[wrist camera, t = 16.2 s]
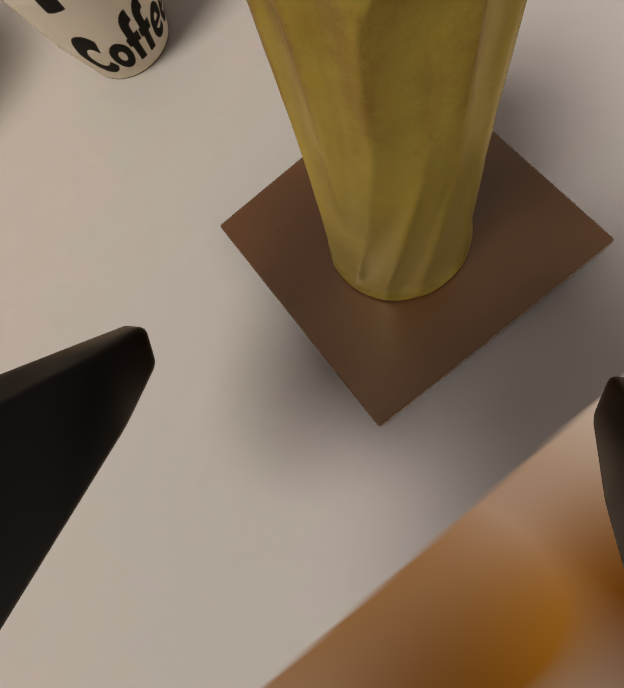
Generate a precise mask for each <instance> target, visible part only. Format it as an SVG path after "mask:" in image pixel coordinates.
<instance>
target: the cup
mask: <svg viewBox="0 0 624 688" xmlns="http://www.w3.org/2000/svg"><path fill="white" fill-rule="evenodd" d="M3 1H4V2H5V3H6V4H8V5H9V6H10V7H11V8H12V9H14V10H15V11H16V12H17V13H18V14H20V15H21V16H22V17H23V18H24V19H26V20H27V21H28V22H29V23H31V24H32V25H33V26H34V27H35V28H37V29H38V30H39V31H40V32H41V33H43V34H44V35H45V36H46V37H47V38H49V39H50V40H51V41H52V42H53V43H55V44H56V45H57V46H58V47H60V48H61V49H62V50H64V51H66V52H67V53H69V54H70V55H72V56H74V57H75V58H77V59H78V60H80V61H81V62H83V63H85V64H86V65H88V66H89V67H91V68H93V69H94V70H96V71H97V72H99V73H100V74H102V75H104V76H106V77H109V78H115V79H121V78H127V77H131V76H134V75H136V74H138V73H140V72H142V71H144V70H145V69H147V68H148V67H149V66H150V65H151V64H153V63H154V62H155V60H156V59H157V58H158V57H159V55H160V54H161V52H162V51H163V49H164V47H165V44H166V42H167V38H168V23H167V19H166V15H165V11H164V6H163V2H162V0H3Z"/></svg>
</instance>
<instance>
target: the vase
mask: <svg viewBox="0 0 624 688" xmlns="http://www.w3.org/2000/svg"><path fill="white" fill-rule="evenodd" d="M526 2H527V0H247V3H248V5H249V8H250V11H251V14H252V17H253V19H254V22H255V25H256V28H257V31H258V34H259V36H260V39H261V42H262V45H263V48H264V50H265V53H266V56H267V58H268V61H269V64H270V66H271V69H272V72H273V74H274V77H275V80H276V83H277V85H278V88H279V91H280V94H281V97H282V100H283V102H284V105H285V107H286V110H287V113H288V116H289V118H290V121H291V124H292V127H293V130H294V133H295V136H296V139H297V142H298V145H299V148H300V151H301V154H302V157H303V160H304V163H305V166H306V169H307V172H308V175H309V178H310V182H311V185H312V188H313V191H314V195H315V198H316V201H317V204H318V207H319V210H320V214H321V217H322V221H323V224H324V228H325V231H326V235H327V238H328V244H329V248H330V252H331V257H332V260H333V264H334V266H335V268H336V269H337V271H338V272H339V273H340V274H341V276H342V277H343V278H344V279H345V280H346V281H347V282H348V283H349V284H350V285H351V286H352V287H354V288H355V289H357V290H358V291H360V292H362V293H364V294H366V295H368V296H371V297H374V298H377V299H381V300H389V301H398V300H407V299H412V298H416V297H420V296H424V295H426V294H429V293H431V292H433V291H435V290H437V289H438V288H440V287H441V286H443V285H444V284H445V283H446V282H448V281H449V280H450V279H451V278H452V277H453V276H454V275H455V274H456V273H457V272H458V270H459V269H460V268H461V266H462V265H463V263H464V261H465V259H466V257H467V255H468V252H469V249H470V245H471V240H472V233H473V224H472V218H473V213H474V209H475V204H476V201H477V196H478V192H479V187H480V183H481V179H482V174H483V169H484V164H485V158H486V154H487V150H488V146H489V142H490V139H491V135H492V131H493V127H494V122H495V117H496V112H497V108H498V105H499V101H500V98H501V94H502V91H503V87H504V84H505V80H506V76H507V73H508V69H509V65H510V62H511V58H512V54H513V51H514V47H515V43H516V39H517V35H518V32H519V28H520V24H521V21H522V17H523V13H524V9H525V5H526Z"/></svg>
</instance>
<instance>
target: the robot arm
mask: <svg viewBox="0 0 624 688" xmlns="http://www.w3.org/2000/svg"><path fill="white" fill-rule="evenodd" d="M154 365H155V359H154V355H153V351H152V348H151V345H150V341H149V338H148V334H147V332H146V331H145V329H143V328H141V327H133V326H123V327H121V328H118V329H116V330H113V331H110V332H108V333H105V334H103V335H100V336H98V337H95V338H92V339H90V340H87V341H85V342H82V343H80V344H77V345H74V346H72V347H69V348H67V349H64V350H62V351H59V352H57V353H54V354H51V355H49V356H46V357H44V358H41V359H39V360H36V361H33V362H31V363H28V364H26V365H23V366H21V367H18V368H15V369H13V370H10V371H8V372H5V373H3V374H0V629H1V628H2V626H3V625H4V623H5V621H6V620H7V618H8V617H9V615H10V613H11V612H12V610H13V608H14V607H15V605H16V604H17V602H18V600H19V599H20V597H21V595H22V594H23V592H24V591H25V589H26V587H27V586H28V584H29V583H30V581H31V579H32V578H33V576H34V574H35V573H36V571H37V570H38V568H39V566H40V565H41V563H42V562H43V560H44V558H45V557H46V555H47V553H48V552H49V550H50V549H51V547H52V545H53V544H54V542H55V541H56V539H57V537H58V536H59V534H60V532H61V531H62V529H63V528H64V526H65V524H66V523H67V521H68V519H69V518H70V516H71V515H72V513H73V511H74V510H75V508H76V507H77V505H78V503H79V502H80V500H81V498H82V497H83V495H84V494H85V492H86V490H87V489H88V487H89V486H90V484H91V482H92V481H93V479H94V477H95V476H96V474H97V473H98V471H99V469H100V468H101V466H102V464H103V463H104V461H105V460H106V458H107V456H108V455H109V453H110V452H111V450H112V448H113V447H114V445H115V443H116V442H117V440H118V439H119V437H120V435H121V434H122V432H123V430H124V428H125V427H126V425H127V423H128V421H129V419H130V417H131V415H132V413H133V411H134V409H135V407H136V405H137V403H138V401H139V398H140V396H141V394H142V392H143V390H144V388H145V386H146V384H147V382H148V380H149V378H150V376H151V374H152V371H153V369H154ZM594 429H595V436H596V443H597V450H598V456H599V463H600V470H601V476H602V484H603V490H604V495H605V501H606V506H607V509H608V513H609V517H610V521H611V524H612V528H613V531H614V534H615V538H616V542H617V545H618V549H619V552H620V556H621V559H622V563H623V567H624V377H612V378H610V379H609V381H608V382H607V384H606V386H605V389H604V391H603V393H602V396H601V398H600V401H599V403H598V406H597V408H596V411H595V414H594Z"/></svg>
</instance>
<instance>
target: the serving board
mask: <svg viewBox="0 0 624 688" xmlns="http://www.w3.org/2000/svg"><path fill="white" fill-rule="evenodd" d="M472 224H473V233H472V240H471V245H470V249H469V252H468V255H467V257H466V259H465V261H464V263H463V265H462V266H461V268H460V269H459V270H458V272H457V273H456V274H455V275H454V276H453V277H452V278H451V279H450V280H449V281H448V282H446V283H445V284H444V285H443V286H441V287H440V288H438V289H437V290H435V291H433V292H431V293H429V294H426V295H424V296H420V297H416V298H412V299H407V300H398V301H389V300H381V299H377V298H374V297H371V296H368V295H366V294H364V293H362V292H360V291H358V290H357V289H355V288H354V287H352V286H351V285H350V284H349V283H348V282H347V281H346V280H345V279H344V278H343V277H342V276H341V274H340V273H339V272H338V271H337V269H336V268H335V266H334V264H333V260H332V257H331V252H330V248H329V244H328V238H327V235H326V231H325V228H324V224H323V221H322V217H321V214H320V210H319V207H318V204H317V201H316V198H315V195H314V191H313V188H312V185H311V182H310V178H309V175H308V172H307V169H306V166H305V163H304V160H303V157H302V158H301V159H300V160H299V161H297V162H296V163H295V164H294V165H293V166H291V167H290V168H289V169H288V170H287V171H285V172H284V173H283V174H282V175H281V176H279V177H278V178H277V179H276V180H275V181H273V182H272V183H271V184H270V185H269V186H267V187H266V188H265V189H264V190H263V191H261V192H260V193H259V194H258V195H256V196H255V197H254V198H253V199H252V200H250V201H249V202H248V203H247V204H246V205H244V206H243V207H242V208H241V209H240V210H238V211H237V212H236V213H235V214H234V215H232V216H231V217H230V218H229V219H228V220H226V221H225V222H224V223H223V224H222V225H221V228H222V229H223V231H224V232H225V233H226V234H227V236H228V237H229V238H230V239H231V241H232V242H233V243H234V244H235V246H236V247H237V248H238V249H239V251H240V252H241V253H242V254H243V256H244V257H245V258H246V260H247V261H248V262H249V263H250V265H251V266H252V267H253V268H254V270H255V271H256V272H257V273H258V275H259V276H260V277H261V278H262V280H263V281H264V282H265V283H266V285H267V286H268V287H269V289H270V290H271V291H272V292H273V294H274V295H275V296H276V297H277V299H278V300H279V301H280V302H281V304H282V305H283V306H284V307H285V309H286V310H287V311H288V312H289V314H290V315H291V316H292V318H293V319H294V320H295V321H296V323H297V324H298V325H299V326H300V328H301V329H302V330H303V331H304V333H305V334H306V335H307V336H308V338H309V339H310V340H311V341H312V343H313V344H314V345H315V346H316V348H317V349H318V350H319V352H320V353H321V354H322V355H323V357H324V358H325V359H326V360H327V362H328V363H329V364H330V365H331V367H332V368H333V369H334V370H335V372H336V373H337V374H338V375H339V377H340V378H341V379H342V381H343V382H344V383H345V384H346V386H347V387H348V388H349V389H350V391H351V392H352V393H353V394H354V396H355V397H356V398H357V399H358V401H359V402H360V403H361V404H362V406H363V407H364V408H365V410H366V411H367V412H368V413H369V415H370V416H371V417H372V418H373V420H374V421H375V422H376V423H377V425H379V426H383V425H384V424H385V423H387V422H388V421H389V420H390V419H392V418H393V417H394V416H395V415H397V414H398V413H399V412H400V411H402V410H403V409H404V408H406V407H407V406H408V405H409V404H411V403H412V402H413V401H414V400H416V399H417V398H418V397H419V396H421V395H422V394H423V393H424V392H426V391H427V390H428V389H429V388H431V387H432V386H433V385H434V384H436V383H437V382H438V381H439V380H441V379H442V378H443V377H444V376H446V375H447V374H448V373H450V372H451V371H452V370H453V369H455V368H456V367H457V366H458V365H460V364H461V363H462V362H463V361H465V360H466V359H467V358H468V357H470V356H471V355H472V354H473V353H475V352H476V351H477V350H478V349H480V348H481V347H482V346H483V345H485V344H486V343H487V342H489V341H490V340H491V339H492V338H494V337H495V336H496V335H497V334H499V333H500V332H501V331H502V330H504V329H505V328H506V327H507V326H509V325H510V324H511V323H512V322H514V321H515V320H516V319H517V318H519V317H520V316H521V315H522V314H524V313H525V312H526V311H527V310H529V309H530V308H531V307H533V306H534V305H535V304H536V303H538V302H539V301H540V300H541V299H543V298H544V297H545V296H546V295H548V294H549V293H550V292H551V291H553V290H554V289H555V288H556V287H558V286H559V285H560V284H561V283H563V282H564V281H565V280H566V279H568V278H569V277H570V276H572V275H573V274H574V273H575V272H577V271H578V270H579V269H580V268H582V267H583V266H584V265H585V264H587V263H588V262H589V261H590V260H592V259H593V258H594V257H595V256H597V255H598V254H599V253H600V252H602V251H603V250H604V249H605V248H606V247H607V246H608V245H610V244H611V243H612V242H613V240H614V239H613V238H612V237H611V236H610V235H609V234H608V233H607V232H605V231H604V230H603V229H602V228H601V227H600V226H599V225H598V224H597V223H595V222H594V221H593V220H592V219H591V218H590V217H589V216H588V215H586V214H585V213H584V212H583V211H582V210H581V209H580V208H579V207H577V206H576V205H575V204H574V203H573V202H572V201H571V200H570V199H568V198H567V197H566V196H565V195H564V194H563V193H562V192H561V191H559V190H558V189H557V188H556V187H555V186H554V185H553V184H552V183H550V182H549V181H548V180H547V179H546V178H545V177H544V176H543V175H541V174H540V173H539V172H538V171H537V170H536V169H535V168H534V167H533V166H531V165H530V164H529V163H528V162H527V161H526V160H525V159H524V158H522V157H521V156H520V155H519V154H518V153H517V152H516V151H515V150H513V149H512V148H511V147H510V146H509V145H508V144H507V143H506V142H504V141H503V140H502V139H501V138H500V137H499V136H498V135H497V134H495V133H494V132H493V131H492V135H491V139H490V142H489V146H488V150H487V154H486V158H485V164H484V169H483V174H482V179H481V183H480V187H479V192H478V196H477V201H476V204H475V209H474V213H473V218H472Z"/></svg>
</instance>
